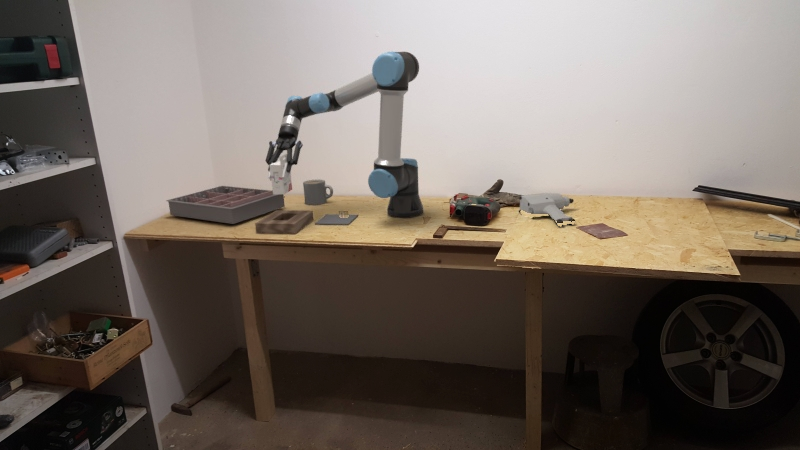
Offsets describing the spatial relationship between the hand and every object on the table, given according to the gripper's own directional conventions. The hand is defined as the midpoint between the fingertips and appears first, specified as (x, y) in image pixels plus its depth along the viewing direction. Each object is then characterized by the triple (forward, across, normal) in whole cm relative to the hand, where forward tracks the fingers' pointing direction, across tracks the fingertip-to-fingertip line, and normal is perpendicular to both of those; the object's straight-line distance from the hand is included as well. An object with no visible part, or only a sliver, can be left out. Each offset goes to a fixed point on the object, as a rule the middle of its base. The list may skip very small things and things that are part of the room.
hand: (277, 178), depth 224 cm
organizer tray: (-2, +35, -30) cm, 46 cm away
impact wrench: (-1, -106, -31) cm, 110 cm away
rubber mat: (+5, -18, -24) cm, 30 cm away
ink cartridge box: (+2, 0, -7) cm, 7 cm away
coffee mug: (-16, 0, -44) cm, 47 cm away
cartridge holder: (+12, 0, -17) cm, 20 cm away
